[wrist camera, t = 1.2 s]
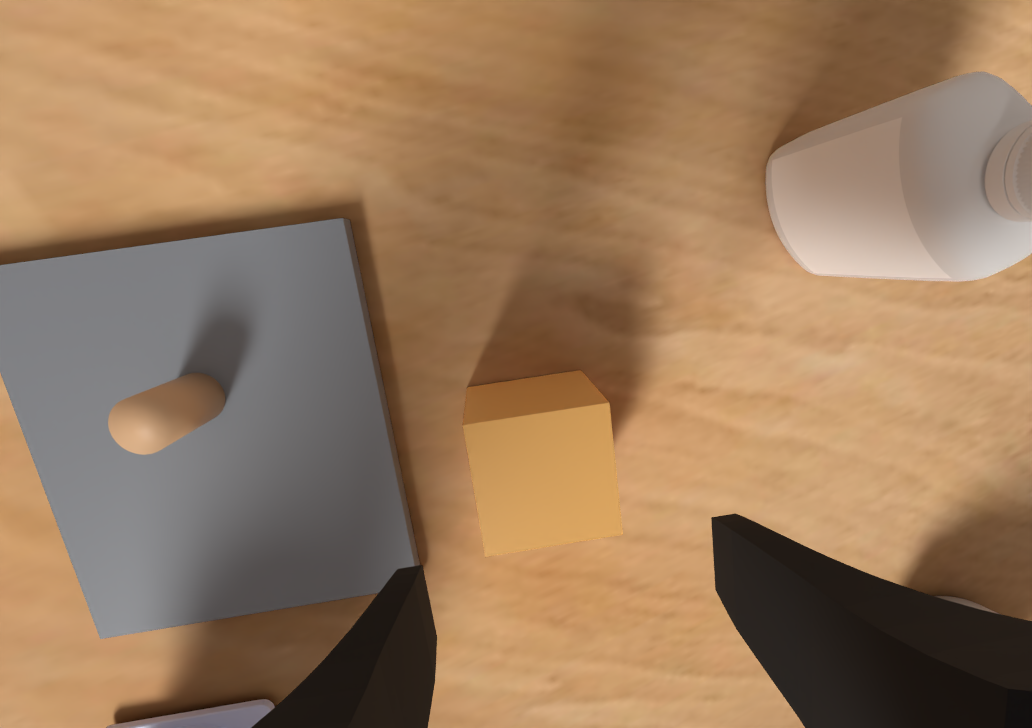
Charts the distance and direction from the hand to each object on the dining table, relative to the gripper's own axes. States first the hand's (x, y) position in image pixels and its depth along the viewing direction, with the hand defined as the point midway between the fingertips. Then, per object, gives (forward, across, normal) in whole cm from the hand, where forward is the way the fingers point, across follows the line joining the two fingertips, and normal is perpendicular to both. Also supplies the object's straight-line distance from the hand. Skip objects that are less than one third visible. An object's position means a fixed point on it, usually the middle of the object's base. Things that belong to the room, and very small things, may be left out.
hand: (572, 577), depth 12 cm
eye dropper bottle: (+10, -13, -8) cm, 18 cm away
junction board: (+10, +13, -2) cm, 17 cm away
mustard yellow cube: (+10, 0, 0) cm, 10 cm away
